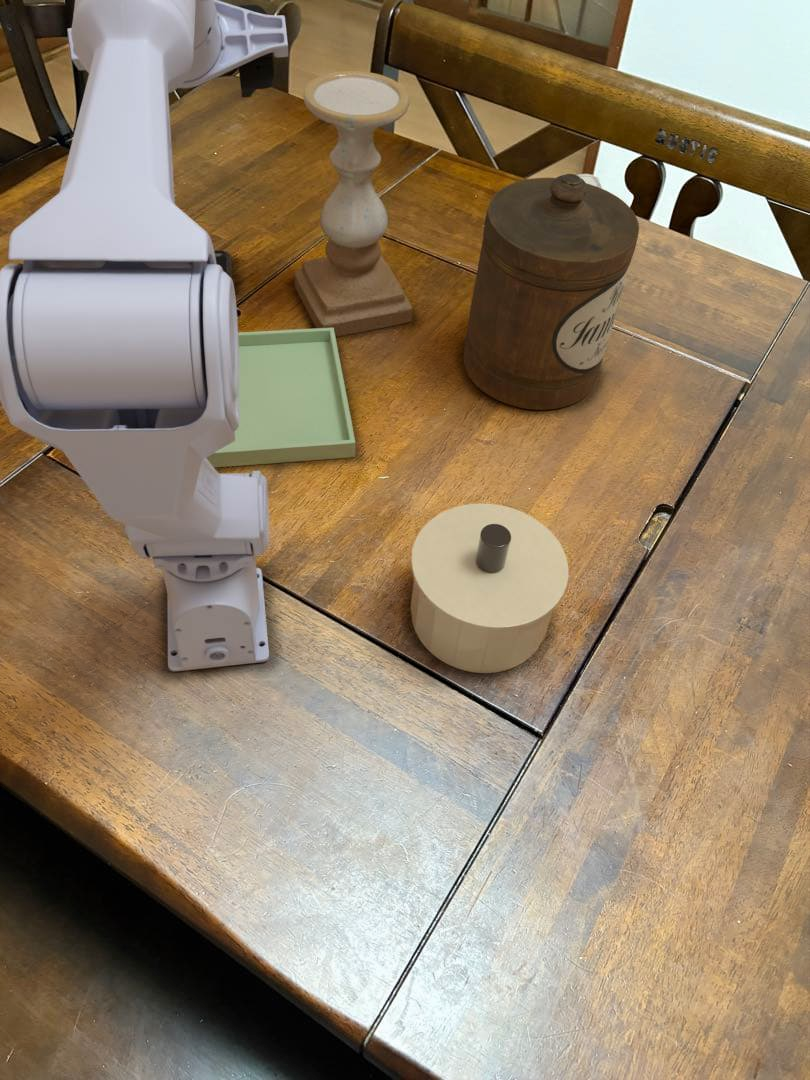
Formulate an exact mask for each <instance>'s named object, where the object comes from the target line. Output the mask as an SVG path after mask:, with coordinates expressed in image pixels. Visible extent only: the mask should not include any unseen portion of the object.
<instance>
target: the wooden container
mask: <svg viewBox="0 0 810 1080" xmlns="http://www.w3.org/2000/svg"><path fill="white" fill-rule="evenodd" d="M577 175H578V174H574V173H565V174H561V175H559V176H556V177H534V178H527V179H522V180H518V181H515V182H512V183H510V184H507V185H504V186H503V187H502V188H501V189H499V190H498V191H496V192H495V193H494V195H493V196H492V197H491V199H490V201H489V203H488V206H487V210H486V214H485V219H484V226H483V233H482V241H481V247H480V253H479V259H478V265H477V270H476V276H475V281H474V286H473V292H472V296H471V303H470V309H469V316H468V322H467V329H466V330H467V331H466V335H465V336H466V337H465V343H464V350H463V366H464V369H465V372H466V374H467V376H468V378H469V379H470V380H471V382H472V383H473V384H474V386H476V387H477V388H478V389H479V390H480V391H481V392H483V393H484V394H486V395H487V396H489V397H491V398H493V399H495V400H496V401H498V402H501V403H504V404H506V405H509V406H512V407H515V408H519V409H527V410H534V411H535V410H536V411H538V410H539V411H544V410H555V409H556V410H557V409H560V408H565V407H568V406H572V405H574V404H576V403H579V402H580V401H581V400H582V399H584V398H585V397H586V396H587V395H589V394H590V393H591V391H592V390H593V388H594V387H595V384H596V382H597V379H598V376H599V373H600V370H601V366H602V363H603V359H604V356H605V353H606V351H607V347H608V344H609V341H610V337H611V335H612V330H613V327H614V323H615V320H616V316H617V312H618V308H619V305H620V300H621V296H622V293H623V290H624V286H625V283H626V279H627V275H628V272H629V268H630V265H631V262H632V259H633V256H634V254H635V250H636V248H637V247H636V246H637V244H638V243H637V242H638V238H639V235H640V224H639V220H638V218H637V216H636V214H635V212H634V210H632V208H631V207H630V206H629V205H628V204H627V202H625V201H624V200H622V199H621V198H620V197H618V196H617V195H615V194H613V193H612V192H610V191H608V190H606V189H604V188H602V189H601V188H599V187H597V186H593V185H590V184H587V183H586V182H585V181H584V180H583V179H582V178H580V177H579V176H577Z"/></svg>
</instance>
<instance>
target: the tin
mask: <svg viewBox="0 0 810 1080" xmlns="http://www.w3.org/2000/svg"><path fill="white" fill-rule="evenodd" d="M409 609H410V615H411V621H412V626H413V629H414V632H415V634H416V636H417V638H418V639H419V641H420V642H421V644H422V645H423V646H424V647H425V648H426V650H428V651H429V653H431V654H432V655H433V656H434V657H435V658H437V659H438V660H439V661H441V662H443V663H445V664H446V665H448V666H451V667H453V668H455V669H458V670H460V671H465V672H470V673H477V674H494V673H499V672H505V671H507V670H510V669H513V668H515V667H517V666H520V665H522V664H523V663H524V662H526V661H527V660H529V658H531V657H532V656H533V655H534V654H535V653H536V652H537V650H539V647H540V646H541V644H542V643H543V641H544V640H545V637H546V634H547V631H548V628H549V625H550V622H551V619H552V616H553V613H554V610H555V608H554V609H553V611H552V612H550V613H549V614H548V615H547V616H545V617H544V618H542V619H541V620H539V621H537V622H535V623H533V624H531V625H528V626H525V627H522V628H518V629H512V630H502V631H493V630H483V629H477V628H473V627H469V626H466V625H463V624H461V623H458V622H456V621H454V620H452V619H450V618H448V617H446V616H445V615H443V614H442V613H440V612H439V611H438V610H436V609H435V608H434V607H433V606H432V605H431V604H430V603H429V602H428V601H427V600H426V599H425V598H424V596H423V595H422V593H421V592H420V590H419V589H418V587H417V585H416V583H415V580H414V579H413V583H412V591H411V599H410V608H409Z"/></svg>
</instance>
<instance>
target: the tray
mask: <svg viewBox="0 0 810 1080" xmlns="http://www.w3.org/2000/svg"><path fill="white" fill-rule="evenodd" d="M238 341H239V387H238V394H239V427H238V428H237V430H235V441H234V442H232V443H231V444H229V445H227V446H225V447H224V448H222V449H220V450H218V451H217V452H215V453H213V454H211V455H209V456H208V457H206V458H207V460H208V461H209V462H210V463H211V465H212V466H213V467H214V468H215V469H216V468H227V467H241V466H254V465H255V466H256V465H268V464H269V465H270V464H282V463H293V462H294V463H295V462H306V461H307V462H308V461H309V462H310V461H322V460H335V459H336V460H337V459H348V458H350V459H351V458H355V457H356V448H357V447H356V445H357V444H356V437H355V432H354V427H353V422H352V416H351V411H350V406H349V401H348V396H347V395H348V394H347V390H346V384H345V380H344V375H343V370H342V364H341V358H340V354H339V348H338V342H337V338H336V337H335V332H334V328H316V327H315V328H299V329H281V330H280V329H278V330H261V331H260V330H259V331H241V332H239V331H238Z"/></svg>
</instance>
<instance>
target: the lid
mask: <svg viewBox="0 0 810 1080" xmlns="http://www.w3.org/2000/svg"><path fill="white" fill-rule="evenodd" d="M410 567H411V575H412V578H413V581H414V580H415V583H416V585H417V587H418V589H419V590H420V592H421V593H422V595H423V596H424V598H425V599H426V600H427V601H428V602H429V603H430V604H431V605H432V606H433V607H434V608H435V609H436V610H438V611H439V612H440V613H442V614H443V615H445V616H446V617H448V618H450V619H452V620H454V621H456V622H458V623H461V624H463V625H466V626H469V627H473V628H477V629H483V630H493V631H502V630H512V629H518V628H522V627H525V626H528V625H531V624H533V623H535V622H537V621H539V620H541V619H542V618H544V617H545V616H547V615H548V614H549V613H550V612H552V611H553V612H554V610H555V608H557V607H558V605H559V604H560V602H561V600H562V599H563V597H564V594H565V592H566V589H567V586H568V582H569V575H570V573H569V572H570V571H569V569H570V568H569V562H568V558H567V555H566V552H565V550H564V548H563V546H562V544H561V543H560V541H559V539H558V538H557V537H556V536H555V534H554V533H553V532H552V531H551V530H550V529H549V528H548V527H547V526H546V525H545V524H543V523H542V522H540V520H538V519H537V518H534V516H531V515H530V514H527V513H526V512H523V511H522V510H519V509H516V508H513V507H510V506H506V505H503V504H502V505H501V504H496V503H486V502H484V503H483V502H481V503H478V502H477V503H467V504H462V505H458V506H454V507H451V508H449V509H447V510H444V511H442V512H440V513H438V514H437V515H435V516H434V517H432V518H431V519H429V521H428V522H426V523H425V525H423V527H422V528H421V529H420V530H419V532H418V533H417V536H416V537H415V539H414V542H413V545H412V550H411V553H410ZM553 609H554V610H553Z"/></svg>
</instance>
